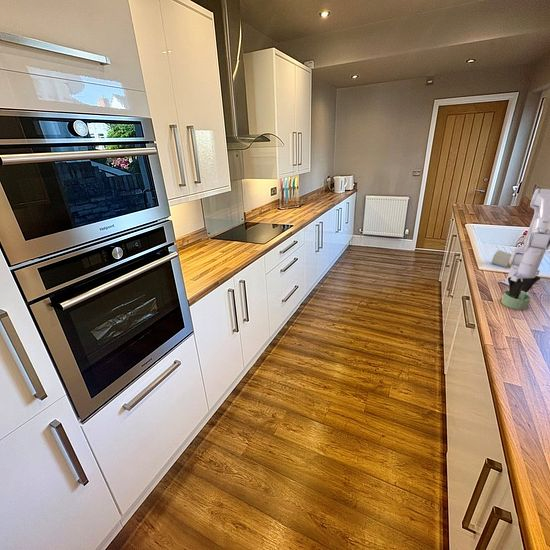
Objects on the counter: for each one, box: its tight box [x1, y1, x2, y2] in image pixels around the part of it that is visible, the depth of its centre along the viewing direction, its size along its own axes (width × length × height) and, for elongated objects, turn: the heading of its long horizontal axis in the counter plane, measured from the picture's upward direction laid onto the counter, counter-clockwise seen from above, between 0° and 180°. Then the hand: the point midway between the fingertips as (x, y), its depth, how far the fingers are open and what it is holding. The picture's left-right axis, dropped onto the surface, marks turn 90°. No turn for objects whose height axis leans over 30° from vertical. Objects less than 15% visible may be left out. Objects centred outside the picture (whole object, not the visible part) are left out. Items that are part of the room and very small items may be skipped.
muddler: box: [515, 286, 523, 299], centre depth 120 cm, size 2×2×9 cm
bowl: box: [500, 289, 532, 311], centre depth 121 cm, size 9×9×4 cm
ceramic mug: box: [491, 249, 512, 268], centre depth 156 cm, size 11×8×8 cm
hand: (518, 293), depth 120 cm, fingers open, 7 cm apart
